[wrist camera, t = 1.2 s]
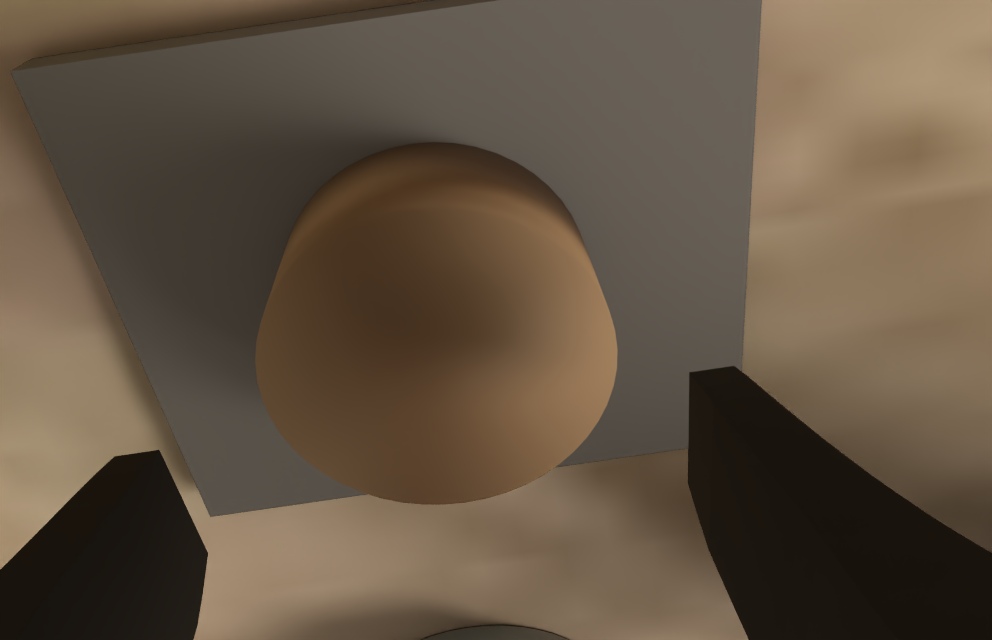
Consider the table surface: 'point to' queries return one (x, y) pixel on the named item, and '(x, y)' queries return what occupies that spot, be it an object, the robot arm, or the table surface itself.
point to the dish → (496, 634)
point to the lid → (435, 328)
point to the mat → (396, 122)
